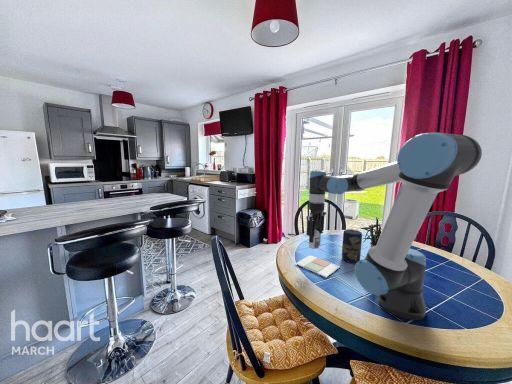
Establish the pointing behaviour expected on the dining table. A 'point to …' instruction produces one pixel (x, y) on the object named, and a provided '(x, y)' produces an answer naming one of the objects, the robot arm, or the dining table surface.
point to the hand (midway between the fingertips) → (314, 246)
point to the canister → (351, 245)
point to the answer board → (318, 265)
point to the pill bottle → (316, 239)
